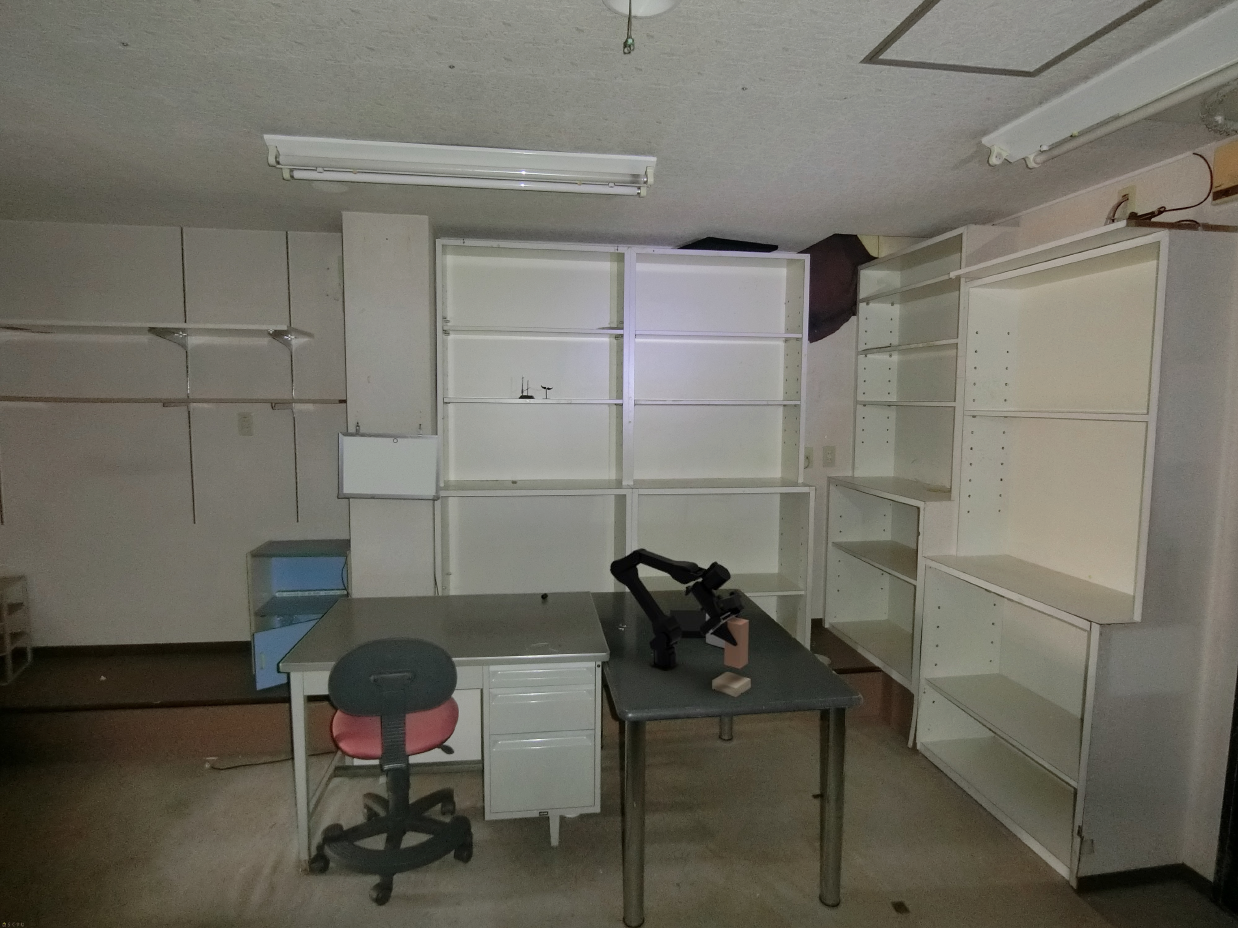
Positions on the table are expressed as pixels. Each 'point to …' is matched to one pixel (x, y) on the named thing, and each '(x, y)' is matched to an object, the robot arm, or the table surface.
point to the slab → (731, 684)
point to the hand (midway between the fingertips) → (740, 642)
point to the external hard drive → (690, 622)
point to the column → (739, 653)
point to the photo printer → (714, 638)
